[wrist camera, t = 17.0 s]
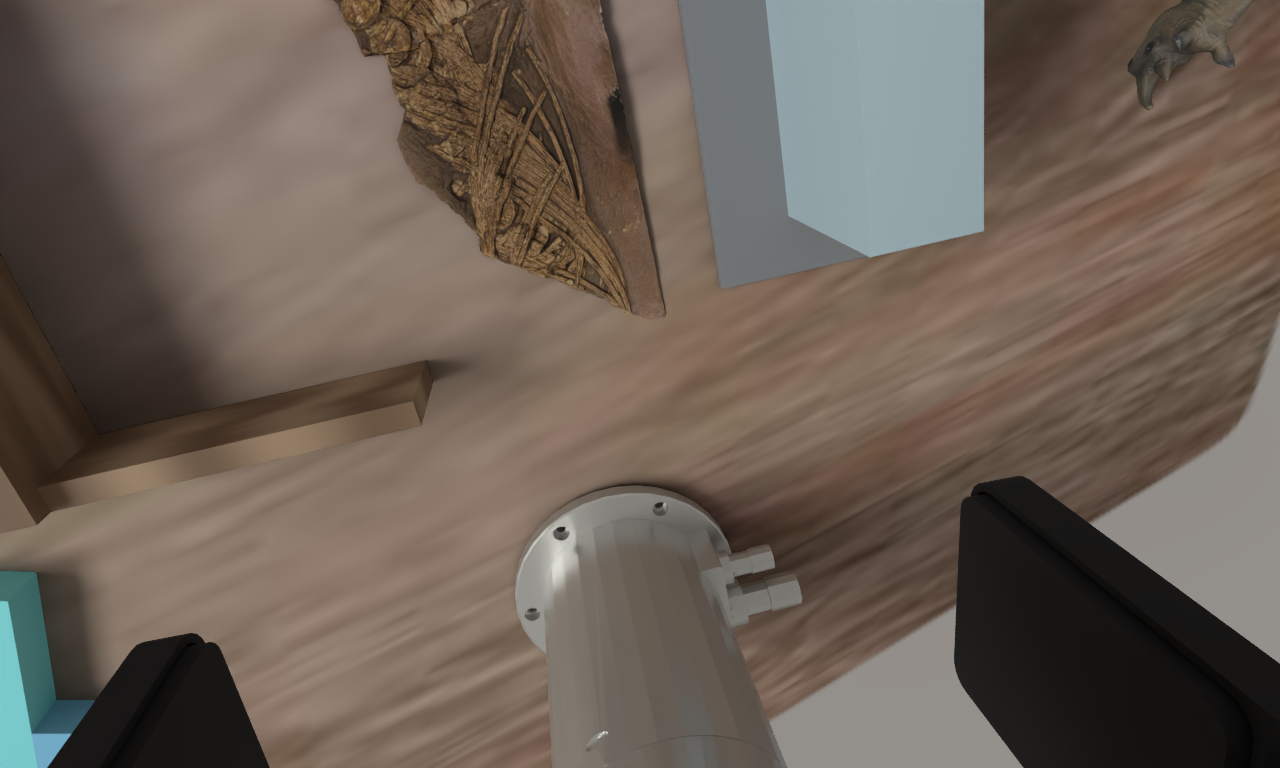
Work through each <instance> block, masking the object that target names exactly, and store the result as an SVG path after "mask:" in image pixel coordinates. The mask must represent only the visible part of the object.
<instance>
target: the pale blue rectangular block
mask: <svg viewBox="0 0 1280 768" xmlns="http://www.w3.org/2000/svg"><path fill="white" fill-rule="evenodd" d="M766 9H767V19H768V28H769V38H770V47H771V56H772V66H773V75H774V85H775V94H776V103H777V113H778V122H779V132H780V141H781V150H782V160H783V169H784V179H785V188H786V197H787V207H788V216H790V217H792V218H793V219H795V220H797V221H799V222H801V223H803V224H805V225H807V226H809V227H811V228H813V229H815V230H817V231H819V232H821V233H823V234H825V235H827V236H829V237H831V238H833V239H835V240H837V241H839V242H841V243H843V244H845V245H847V246H849V247H851V248H853V249H855V250H857V251H859V252H860V253H862V254H864V255H866V256H868V257H874V256H878V255H882V254H887V253H891V252H895V251H900V250H904V249H908V248H913V247H917V246H921V245H926V244H930V243H934V242H938V241H943V240H947V239H951V238H956V237H960V236H964V235H969V234H973V233H977V232H982V231H984V0H766Z"/></svg>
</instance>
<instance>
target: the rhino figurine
mask: <svg viewBox="0 0 1280 768" xmlns="http://www.w3.org/2000/svg"><path fill="white" fill-rule="evenodd" d="M1253 1H1254V0H1182V3H1180V4H1179V5H1177V6H1175V7H1172V8H1170V9H1168V10H1166V11H1165V12H1164V13H1162V14H1161V15H1160V16H1159V17H1158V19H1157V20H1156V21H1155V22H1154V24H1153V25H1152V27H1151V28H1150V30H1149V32H1148V35H1147V37H1146V38H1145V40H1144V41H1143V43H1142V45H1141V46H1140V47H1139V49H1138V50H1137V52H1136V54H1135V56H1134V57H1133V58H1132V59H1131V60H1130V62H1129V64H1128V72H1130V73H1131V74H1132V75H1133V76H1135V77H1136V83H1137V93H1138V98H1139V101H1140V104H1141V105H1142V107H1144V108H1145V109H1147V110H1150V109H1152V108H1153V104H1152V100H1151V99H1152V93H1153V90H1154V88H1155V85H1156V83H1157V81H1158V80H1159V79H1160V78H1161V77H1162V78H1163V79H1164V80H1165V81H1167V80H1169V79H1170V76H1171V73H1172V71H1173V70H1174V68H1175V67H1178V66H1181V65H1183V64H1185V63H1187V62H1188V61H1189V59H1190V58H1191V57H1192V55H1193V54H1195V53H1198V52H1211V53H1212V57H1213V60H1214V61H1215V62H1216V63H1217V64H1220V65H1224V66H1226V67H1229V68H1232V67H1234V66H1235V60H1234V58H1233V55H1232V53H1231V51H1230V49H1229V47H1228V46H1227V45H1226V34H1227V32H1228V31H1229V29H1230V28H1232V27H1233V25H1234V24H1235V22H1236V20H1237V19H1238V18H1239V17H1240V16H1241V14H1242V13H1243V12H1244V11H1245V10H1246V9H1247V8H1248V6H1249V5H1250V4H1251V3H1252V2H1253Z"/></svg>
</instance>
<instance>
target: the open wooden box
mask: <svg viewBox="0 0 1280 768" xmlns="http://www.w3.org/2000/svg"><path fill="white" fill-rule="evenodd" d="M432 384H433V381H432V378H431V375H430V372H429V369H428V366H427V363H426V361H421V362H417V363H412V364H408V365H404V366H399V367H395V368H390V369H386V370H382V371H377V372H373V373H368V374H364V375H359V376H355V377H351V378H346V379H342V380H337V381H333V382H329V383H324V384H320V385H315V386H311V387H307V388H302V389H298V390H293V391H289V392H285V393H280V394H276V395H271V396H267V397H262V398H258V399H254V400H249V401H245V402H240V403H236V404H232V405H227V406H223V407H218V408H214V409H210V410H205V411H201V412H196V413H192V414H188V415H183V416H179V417H174V418H170V419H165V420H161V421H157V422H152V423H148V424H143V425H139V426H135V427H130V428H126V429H121V430H117V431H113V432H108V433H104V434H99V435H98V433H97V431H96V429H95V427H94V425H93V424H92V422H91V420H90V418H89V416H88V414H87V413H86V411H85V409H84V407H83V405H82V403H81V402H80V400H79V398H78V396H77V394H76V393H75V391H74V389H73V387H72V385H71V383H70V382H69V380H68V378H67V376H66V374H65V372H64V371H63V369H62V367H61V365H60V363H59V361H58V360H57V358H56V356H55V354H54V352H53V350H52V349H51V347H50V345H49V343H48V341H47V340H46V338H45V336H44V334H43V332H42V330H41V329H40V327H39V325H38V323H37V321H36V319H35V318H34V316H33V314H32V312H31V310H30V308H29V307H28V305H27V303H26V301H25V299H24V298H23V296H22V294H21V292H20V290H19V288H18V287H17V285H16V283H15V281H14V279H13V277H12V276H11V274H10V272H9V270H8V268H7V266H6V265H5V263H4V261H3V259H2V257H1V255H0V534H1V533H5V532H9V531H14V530H18V529H22V528H26V527H31V526H35V525H37V524H38V523H40V522H41V521H42V520H43V519H44V518H45V517H46V516H47V515H48V514H49V513H50V512H53V511H57V510H61V509H66V508H70V507H74V506H79V505H83V504H87V503H91V502H96V501H100V500H104V499H109V498H113V497H117V496H121V495H126V494H130V493H134V492H139V491H143V490H147V489H152V488H156V487H160V486H164V485H169V484H173V483H177V482H182V481H186V480H190V479H194V478H199V477H203V476H207V475H212V474H216V473H220V472H225V471H229V470H233V469H237V468H242V467H246V466H250V465H255V464H259V463H263V462H267V461H272V460H276V459H280V458H285V457H289V456H293V455H298V454H302V453H306V452H310V451H315V450H319V449H323V448H328V447H332V446H336V445H340V444H345V443H349V442H353V441H358V440H362V439H366V438H371V437H375V436H379V435H383V434H388V433H392V432H396V431H401V430H405V429H409V428H413V427H418V426H421V425H422V421H423V417H424V414H425V410H426V406H427V402H428V399H429V395H430V391H431V388H432Z"/></svg>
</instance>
